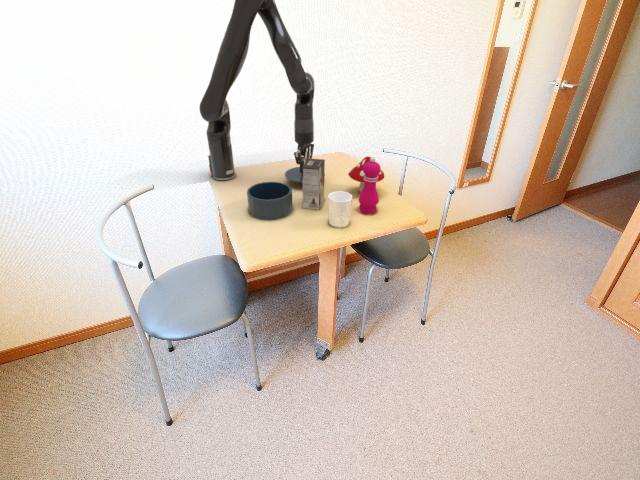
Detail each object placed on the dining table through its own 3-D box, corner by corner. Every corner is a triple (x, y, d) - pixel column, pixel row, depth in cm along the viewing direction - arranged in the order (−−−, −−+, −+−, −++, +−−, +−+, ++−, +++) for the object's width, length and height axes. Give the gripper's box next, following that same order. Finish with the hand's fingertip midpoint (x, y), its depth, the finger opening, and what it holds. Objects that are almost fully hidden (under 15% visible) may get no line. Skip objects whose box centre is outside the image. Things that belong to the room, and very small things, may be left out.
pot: (254, 223, 120) (252, 203, 116) (245, 203, 133) (242, 185, 128) (298, 215, 125) (297, 196, 121) (284, 197, 138) (284, 179, 133)
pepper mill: (356, 206, 132) (360, 153, 121) (375, 205, 132) (381, 153, 122) (359, 215, 126) (364, 161, 115) (379, 214, 126) (386, 161, 116)
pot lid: (292, 187, 139) (291, 169, 135) (280, 172, 152) (279, 155, 148) (331, 180, 144) (331, 164, 140) (316, 166, 157) (316, 151, 153)
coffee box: (308, 197, 137) (307, 157, 129) (324, 199, 136) (325, 159, 128) (302, 208, 130) (301, 166, 121) (319, 210, 129) (320, 168, 120)
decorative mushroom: (341, 195, 139) (343, 159, 131) (354, 183, 150) (356, 148, 142) (376, 203, 134) (380, 165, 126) (386, 189, 145) (390, 153, 137)
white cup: (343, 231, 117) (345, 203, 111) (323, 224, 120) (323, 197, 115) (354, 221, 122) (356, 194, 117) (334, 215, 126) (335, 189, 120)
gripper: (303, 124, 144) (304, 164, 154) (286, 132, 133) (288, 175, 143) (320, 126, 142) (320, 167, 151) (304, 135, 131) (305, 179, 140)
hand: (304, 171), depth 147 cm, fingers closed on pot lid, 3 cm apart
